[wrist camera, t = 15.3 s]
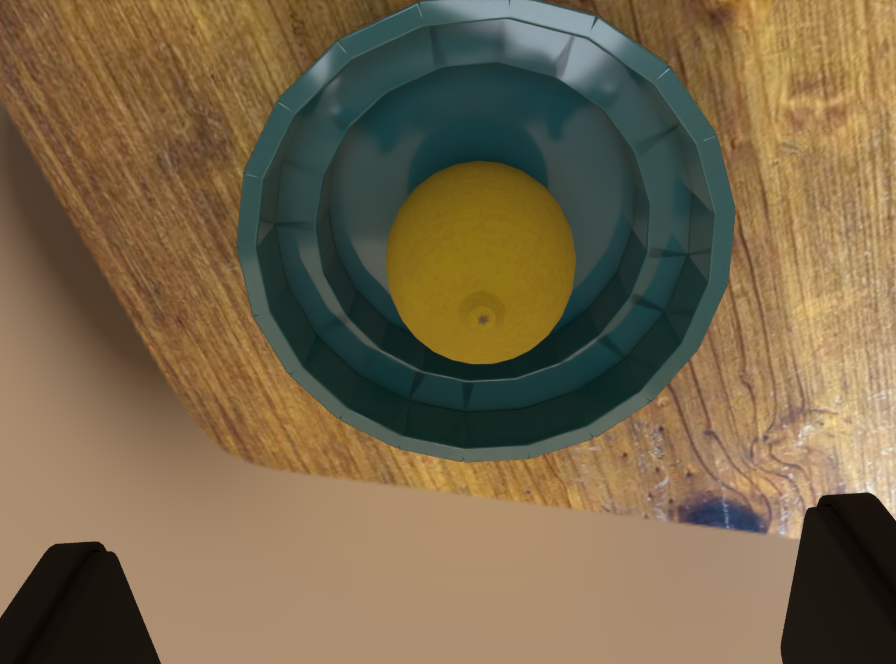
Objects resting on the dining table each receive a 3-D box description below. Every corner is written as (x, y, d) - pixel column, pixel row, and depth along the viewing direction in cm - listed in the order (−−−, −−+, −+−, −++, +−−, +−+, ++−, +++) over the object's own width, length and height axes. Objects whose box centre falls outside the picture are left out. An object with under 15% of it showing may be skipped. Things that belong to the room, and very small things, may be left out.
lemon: (483, 317, 26) (488, 449, 19) (366, 222, 25) (324, 327, 18) (593, 210, 24) (643, 312, 17) (473, 98, 23) (474, 160, 16)
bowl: (316, 393, 29) (288, 472, 24) (239, 10, 22) (182, 23, 18) (673, 372, 28) (712, 450, 24) (701, -34, 21) (761, -33, 17)
